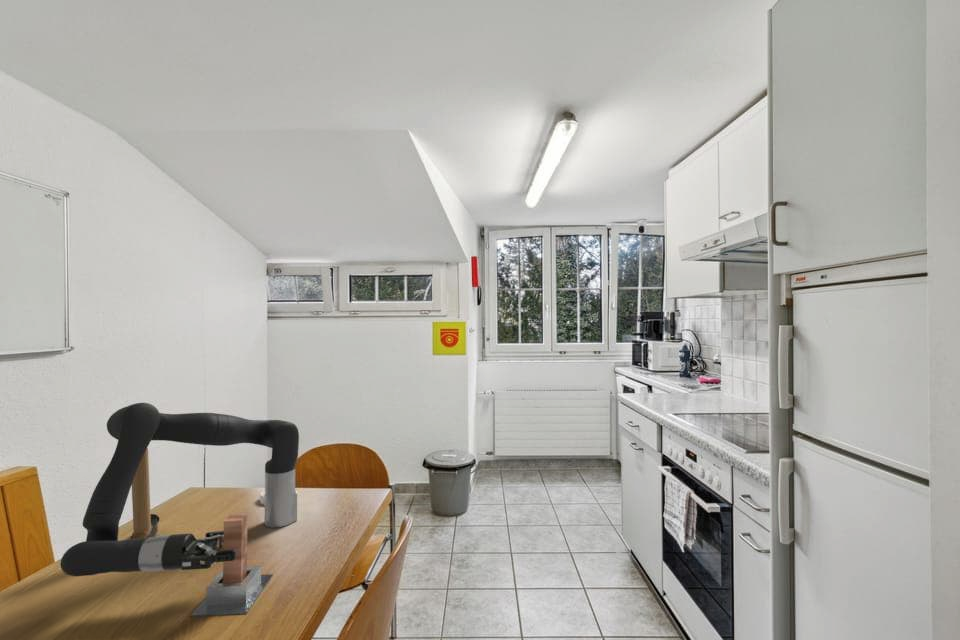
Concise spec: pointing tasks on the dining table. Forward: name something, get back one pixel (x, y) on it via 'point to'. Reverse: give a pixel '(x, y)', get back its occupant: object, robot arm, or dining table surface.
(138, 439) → the robot arm
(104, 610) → the dining table surface
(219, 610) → the socket base
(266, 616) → the dining table surface
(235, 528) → the square peg
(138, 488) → the hammer
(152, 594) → the dining table surface
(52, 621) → the dining table surface
